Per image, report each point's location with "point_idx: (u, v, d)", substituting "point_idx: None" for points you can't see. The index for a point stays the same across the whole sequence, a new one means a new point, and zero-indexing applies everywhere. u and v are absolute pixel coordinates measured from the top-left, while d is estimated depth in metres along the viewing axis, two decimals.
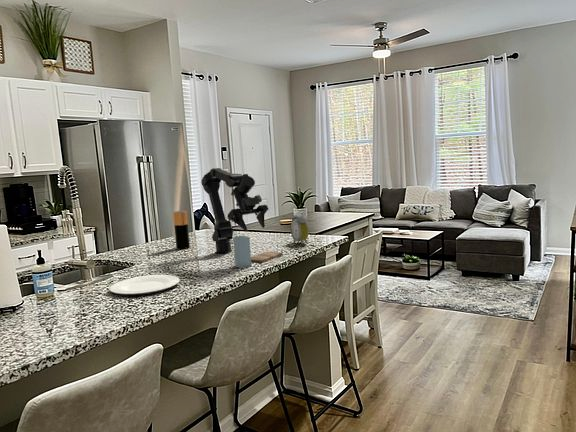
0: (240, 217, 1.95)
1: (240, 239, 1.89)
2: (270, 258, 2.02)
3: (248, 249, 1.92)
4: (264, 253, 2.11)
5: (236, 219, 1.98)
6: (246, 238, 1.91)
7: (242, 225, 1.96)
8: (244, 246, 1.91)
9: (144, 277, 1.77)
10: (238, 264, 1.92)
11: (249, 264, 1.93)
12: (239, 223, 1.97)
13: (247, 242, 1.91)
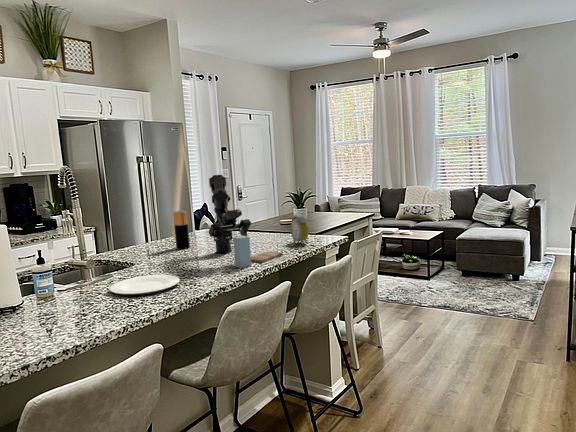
0: (220, 231, 1.93)
1: (240, 239, 1.89)
2: (270, 258, 2.02)
3: (248, 249, 1.92)
4: (264, 253, 2.11)
5: (217, 234, 1.95)
6: (246, 238, 1.91)
7: (223, 239, 1.93)
8: (244, 246, 1.91)
9: (144, 277, 1.77)
10: (238, 264, 1.92)
11: (249, 264, 1.93)
12: (220, 238, 1.95)
13: (247, 242, 1.91)
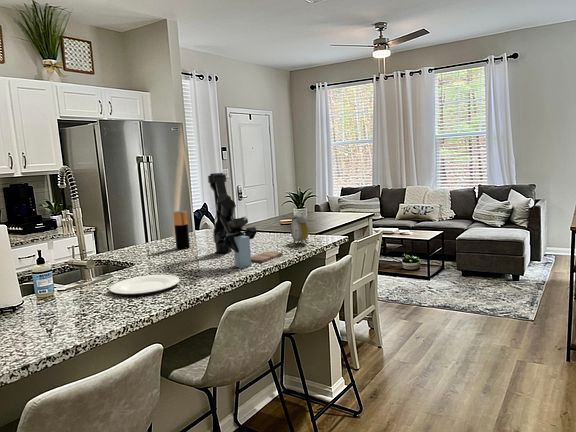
0: (230, 239, 1.91)
1: (240, 239, 1.89)
2: (270, 258, 2.02)
3: (248, 249, 1.92)
4: (264, 253, 2.11)
5: (227, 242, 1.93)
6: (246, 238, 1.91)
7: (233, 247, 1.91)
8: (244, 246, 1.91)
9: (144, 277, 1.77)
10: (238, 264, 1.91)
11: (249, 264, 1.93)
12: (230, 245, 1.92)
13: (247, 242, 1.91)
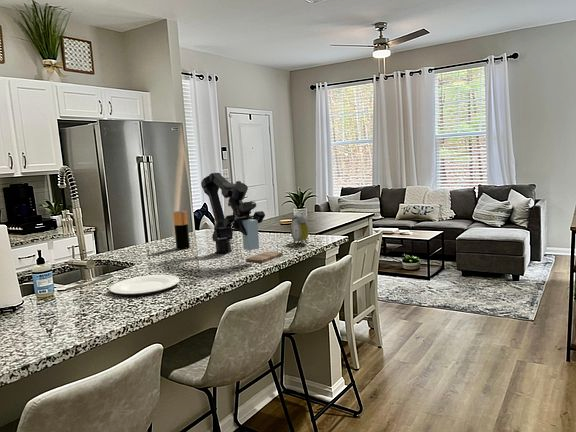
0: (239, 222, 1.96)
1: (248, 222, 1.94)
2: (270, 258, 2.02)
3: (256, 232, 1.96)
4: (264, 253, 2.11)
5: (236, 225, 1.98)
6: (254, 221, 1.95)
7: (242, 230, 1.96)
8: (252, 229, 1.95)
9: (144, 277, 1.77)
10: (247, 247, 1.96)
11: (257, 247, 1.97)
12: (239, 229, 1.97)
13: (255, 225, 1.96)
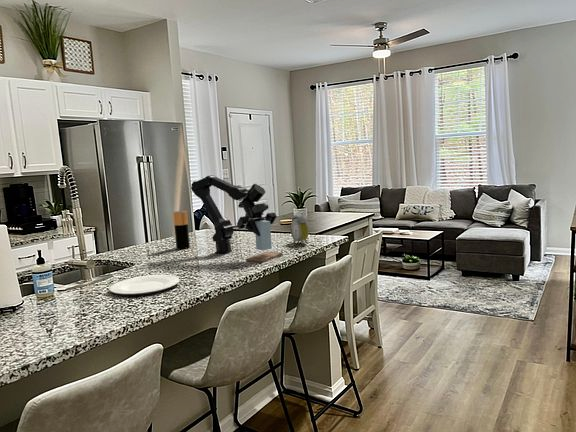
0: (252, 223, 2.03)
1: (262, 223, 2.01)
2: (270, 258, 2.02)
3: (269, 233, 2.04)
4: (264, 253, 2.11)
5: (249, 226, 2.05)
6: (267, 222, 2.03)
7: (255, 231, 2.03)
8: (265, 230, 2.03)
9: (144, 277, 1.77)
10: (260, 247, 2.04)
11: (269, 247, 2.05)
12: (252, 229, 2.04)
13: (268, 226, 2.03)
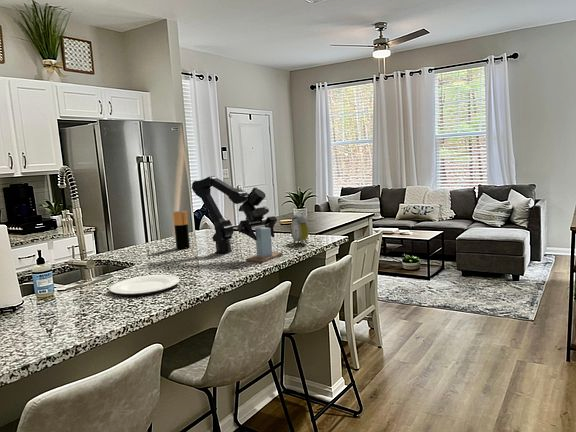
0: (249, 227, 2.02)
1: (262, 230, 2.02)
2: (270, 258, 2.02)
3: (269, 240, 2.04)
4: None
5: (246, 230, 2.04)
6: (267, 229, 2.03)
7: (252, 235, 2.02)
8: (266, 237, 2.03)
9: (144, 277, 1.77)
10: (260, 254, 2.04)
11: (270, 254, 2.05)
12: (249, 234, 2.03)
13: (268, 233, 2.04)
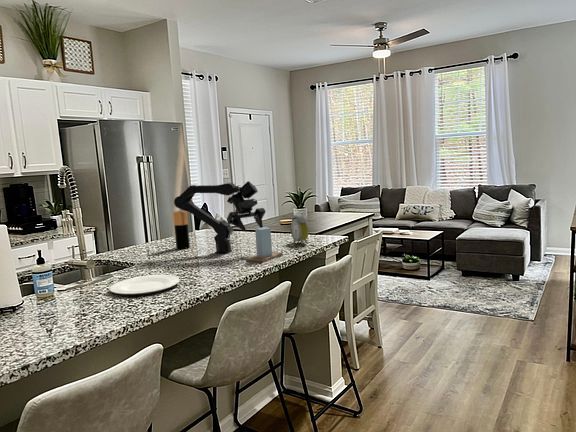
0: (238, 218, 2.09)
1: (262, 230, 2.02)
2: (270, 258, 2.02)
3: (269, 240, 2.04)
4: None
5: (235, 221, 2.11)
6: (267, 229, 2.03)
7: (241, 226, 2.09)
8: (266, 237, 2.03)
9: (144, 277, 1.77)
10: (260, 254, 2.04)
11: (270, 254, 2.05)
12: (238, 225, 2.11)
13: (268, 233, 2.04)
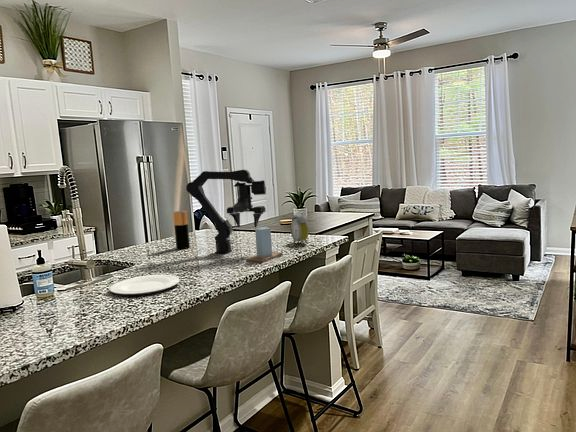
0: (233, 216, 2.22)
1: (262, 230, 2.02)
2: (270, 258, 2.02)
3: (269, 240, 2.04)
4: None
5: None
6: (267, 229, 2.03)
7: None
8: (266, 237, 2.03)
9: (144, 277, 1.77)
10: (260, 254, 2.04)
11: (270, 254, 2.05)
12: None
13: (268, 233, 2.04)
